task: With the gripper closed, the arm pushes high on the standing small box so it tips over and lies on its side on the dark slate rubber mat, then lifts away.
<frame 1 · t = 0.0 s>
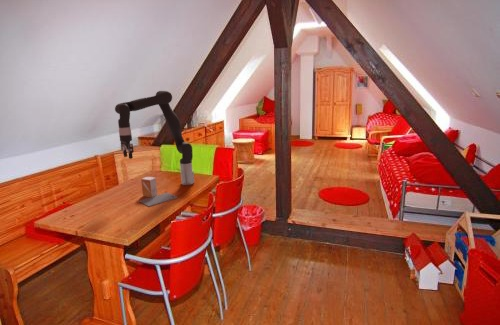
hand: (128, 157, 207), 29 cm above the table, fingers open, 8 cm apart
slate mat: (158, 199, 210), on the table
small box: (150, 195, 219), on the table
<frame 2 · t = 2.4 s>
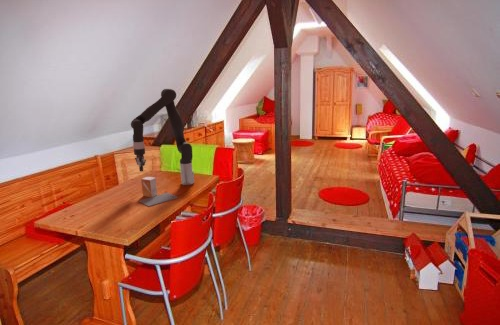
hand: (141, 171, 222), 16 cm above the table, fingers closed
nothing on the table moved.
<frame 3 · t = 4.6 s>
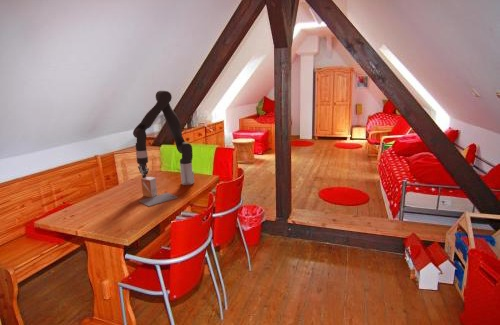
hand: (144, 179, 221), 10 cm above the table, fingers closed
small box: (150, 195, 219), on the table, touching gripper
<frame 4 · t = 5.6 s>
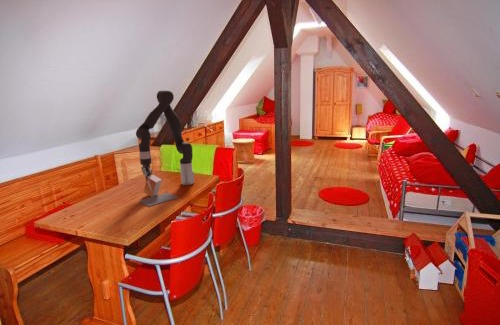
hand: (147, 180, 217), 11 cm above the table, fingers closed
small box: (150, 193, 219), point 1 cm above the table, touching gripper
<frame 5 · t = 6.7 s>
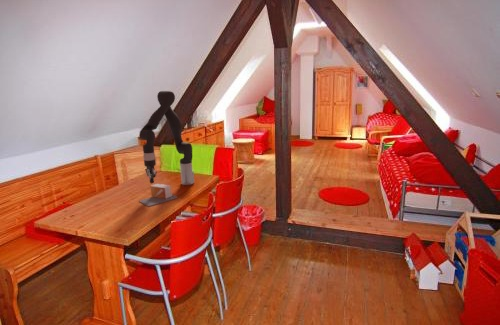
hand: (152, 182, 213), 11 cm above the table, fingers closed
small box: (153, 190, 216), point 5 cm above the table, touching slate mat
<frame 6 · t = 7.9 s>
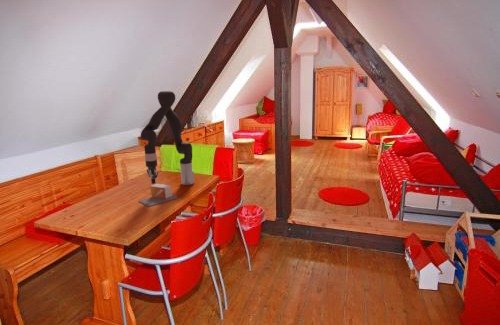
hand: (153, 183, 212), 10 cm above the table, fingers closed
nothing on the table moved.
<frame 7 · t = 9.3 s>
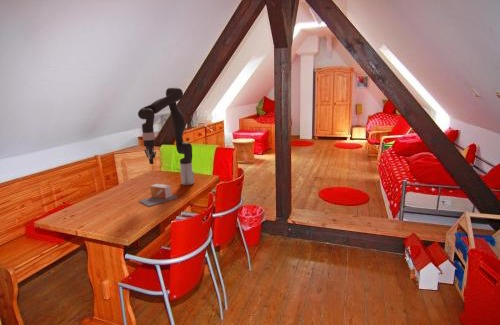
hand: (151, 163, 208), 25 cm above the table, fingers closed
nothing on the table moved.
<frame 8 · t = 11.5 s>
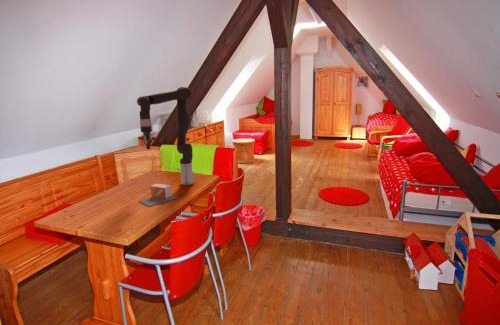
hand: (148, 149, 221), 32 cm above the table, fingers closed
nothing on the table moved.
at the end: small box tilted 89°; small box touching slate mat; small box inside the target area (2.2 cm from its centre), point 4.6 cm above the table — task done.
